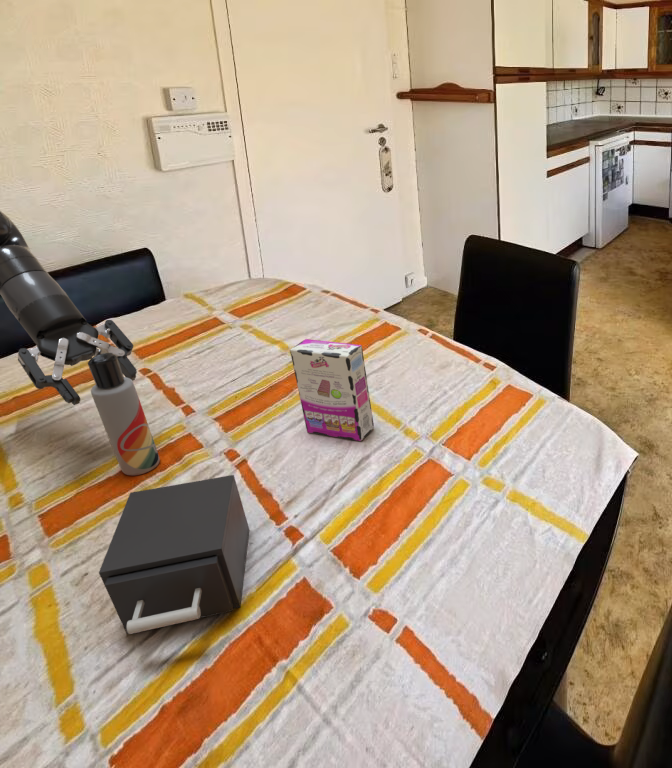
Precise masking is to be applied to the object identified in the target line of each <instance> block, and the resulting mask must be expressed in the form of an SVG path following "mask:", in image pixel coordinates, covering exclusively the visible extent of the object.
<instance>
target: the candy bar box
mask: <svg viewBox="0 0 672 768" xmlns="http://www.w3.org/2000/svg"><path fill="white" fill-rule="evenodd" d="M289 352H290V357H291V363H292V366H293V372H294V376H295V380H296V386H297V390H298V395H299V400H300V405H301V410H302V415H303V419H304V424H305V429H306V432H307V433H309V434H313V435H314V434H315V435H320V436H328V437H334V438H339V439H345V440H346V439H347V440H350V441H351V440H352V441H358V442H362V441H363V440H364V439H365V438H366V437H367V436H368V435H369V434H370V433H371V432H372V431H373V430H374V428H375V425H374V418H373V417H374V416H373V411H372V404H371V398H370V391H369V386H368V378H367V371H366V365H365V358H364V351H363V345H362V344H354V343H348V342H347V343H346V342H337V341H330V340H329V341H328V340H320V339H310V338H305V339H304V340H302V341H300V342H299V343H298V344H296V345H294V346H293V347H291V348H290V349H289Z"/></svg>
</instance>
